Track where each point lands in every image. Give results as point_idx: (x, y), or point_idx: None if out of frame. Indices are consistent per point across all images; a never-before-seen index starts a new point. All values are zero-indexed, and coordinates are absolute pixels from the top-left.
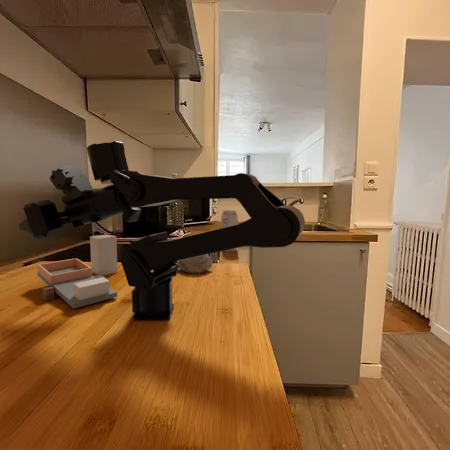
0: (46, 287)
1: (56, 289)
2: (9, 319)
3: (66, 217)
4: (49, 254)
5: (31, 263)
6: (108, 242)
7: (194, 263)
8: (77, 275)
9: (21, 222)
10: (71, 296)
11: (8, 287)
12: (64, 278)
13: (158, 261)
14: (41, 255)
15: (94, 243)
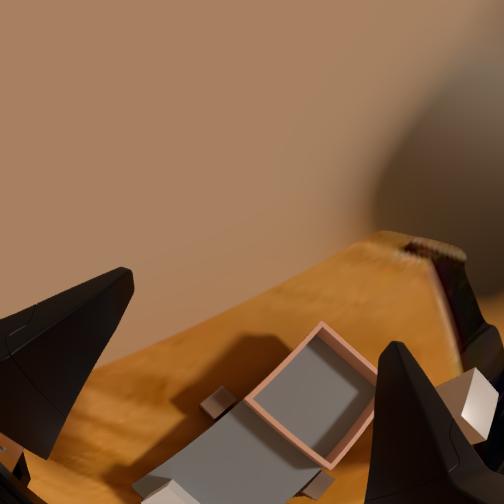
0: (218, 398)
1: (212, 426)
2: (103, 373)
3: (388, 419)
4: (454, 255)
5: (415, 252)
6: (463, 433)
7: None
8: (295, 445)
9: (90, 281)
10: (167, 474)
11: (290, 285)
12: (269, 423)
13: None
14: (446, 246)
15: (455, 397)
